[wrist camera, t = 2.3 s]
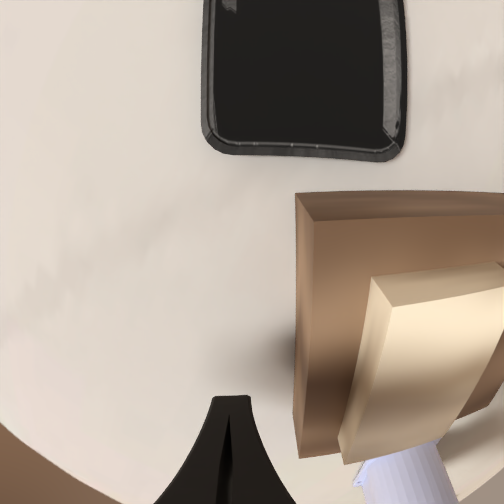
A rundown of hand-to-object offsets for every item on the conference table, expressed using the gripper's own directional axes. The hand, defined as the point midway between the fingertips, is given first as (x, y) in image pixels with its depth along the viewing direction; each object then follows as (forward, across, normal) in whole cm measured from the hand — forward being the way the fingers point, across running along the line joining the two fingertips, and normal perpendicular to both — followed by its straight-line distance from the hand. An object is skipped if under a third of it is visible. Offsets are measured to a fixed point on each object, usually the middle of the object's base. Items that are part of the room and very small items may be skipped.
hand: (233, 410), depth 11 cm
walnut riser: (+4, -10, 0) cm, 11 cm away
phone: (+5, -4, -16) cm, 17 cm away
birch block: (+1, -8, 0) cm, 8 cm away
